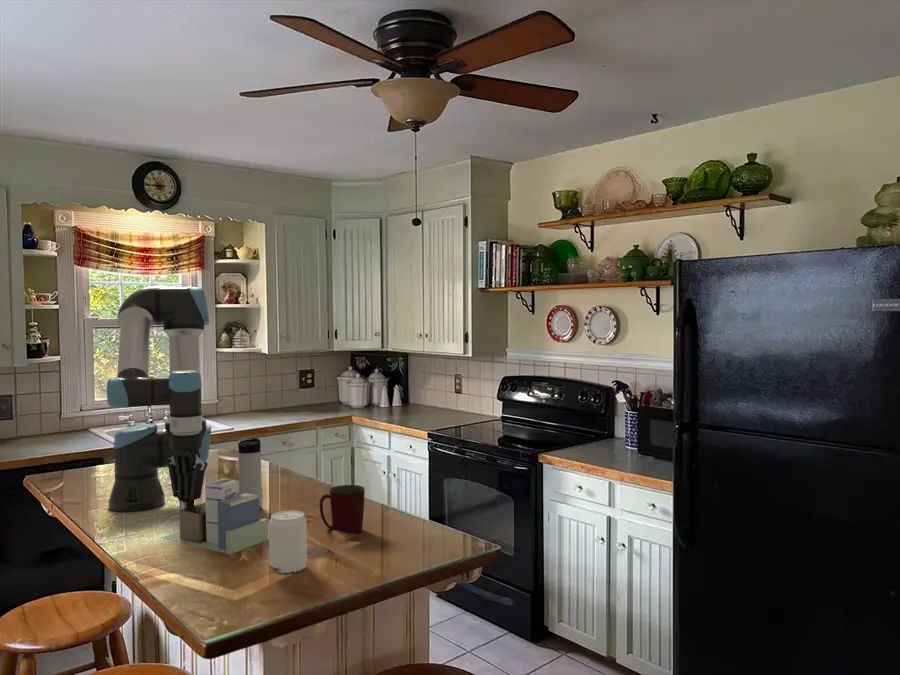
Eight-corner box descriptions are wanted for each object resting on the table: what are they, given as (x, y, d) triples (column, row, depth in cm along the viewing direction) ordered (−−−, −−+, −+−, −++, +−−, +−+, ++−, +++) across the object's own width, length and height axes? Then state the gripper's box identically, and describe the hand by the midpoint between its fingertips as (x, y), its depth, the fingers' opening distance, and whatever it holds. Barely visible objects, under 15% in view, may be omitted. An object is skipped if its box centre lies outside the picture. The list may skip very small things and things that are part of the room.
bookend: (180, 538, 172) (179, 510, 171) (209, 528, 179) (209, 501, 179) (199, 543, 168) (199, 514, 168) (228, 533, 176) (228, 505, 175)
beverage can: (272, 562, 159) (272, 510, 159) (308, 561, 160) (308, 509, 160) (266, 576, 151) (265, 520, 151) (304, 574, 152) (303, 519, 151)
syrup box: (225, 545, 166) (224, 484, 166) (205, 542, 169) (204, 482, 168) (240, 538, 172) (240, 479, 171) (221, 535, 174) (220, 477, 173)
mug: (328, 541, 174) (327, 497, 174) (313, 532, 181) (312, 489, 181) (371, 532, 181) (370, 490, 180) (355, 524, 188) (354, 483, 188)
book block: (218, 548, 165) (217, 501, 164) (247, 537, 172) (246, 493, 172) (230, 551, 163) (229, 504, 162) (259, 540, 170) (258, 495, 170)
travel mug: (266, 506, 205) (265, 438, 205) (253, 512, 199) (252, 442, 198) (248, 504, 207) (247, 437, 207) (234, 510, 201) (233, 441, 200)
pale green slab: (161, 543, 173) (160, 517, 173) (201, 530, 183) (200, 505, 183) (230, 560, 161) (229, 532, 160) (268, 545, 171) (268, 519, 171)
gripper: (156, 432, 176) (157, 526, 177) (190, 437, 169) (192, 534, 170) (181, 428, 182) (182, 518, 183) (215, 432, 176) (216, 526, 176)
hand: (187, 526), depth 176 cm, fingers closed
